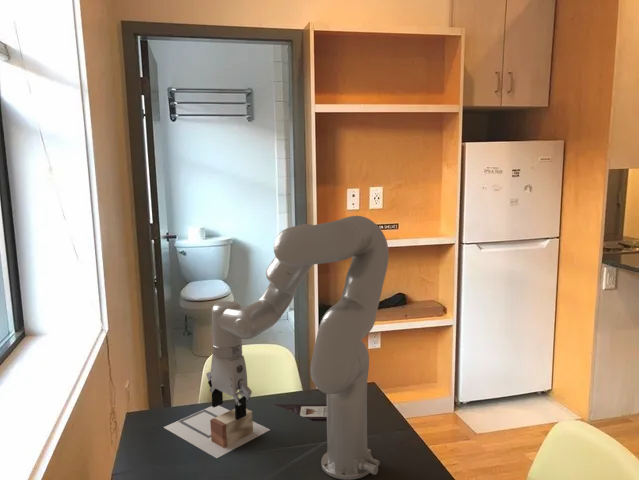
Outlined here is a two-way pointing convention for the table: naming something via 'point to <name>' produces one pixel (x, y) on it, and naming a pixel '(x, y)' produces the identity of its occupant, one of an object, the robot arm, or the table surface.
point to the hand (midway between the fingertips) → (228, 411)
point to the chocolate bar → (307, 410)
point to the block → (230, 428)
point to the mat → (208, 431)
